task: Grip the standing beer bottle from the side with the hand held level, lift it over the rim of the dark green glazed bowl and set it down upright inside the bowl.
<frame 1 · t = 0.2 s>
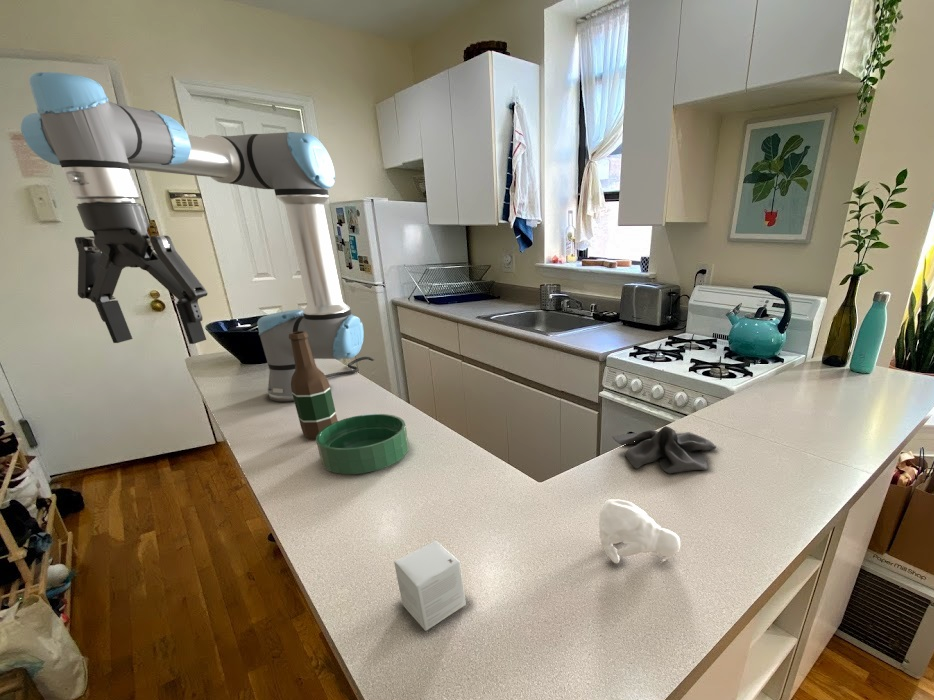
hand: (160, 341, 77), 28 cm above the worktop, tool pointing down, fingers open, 13 cm apart
cloth: (660, 451, 98), on the worktop
product box: (434, 606, 60), on the worktop
beer bottle: (321, 434, 109), on the worktop
white irregular figure: (637, 554, 69), on the worktop
green bowl: (367, 455, 98), on the worktop
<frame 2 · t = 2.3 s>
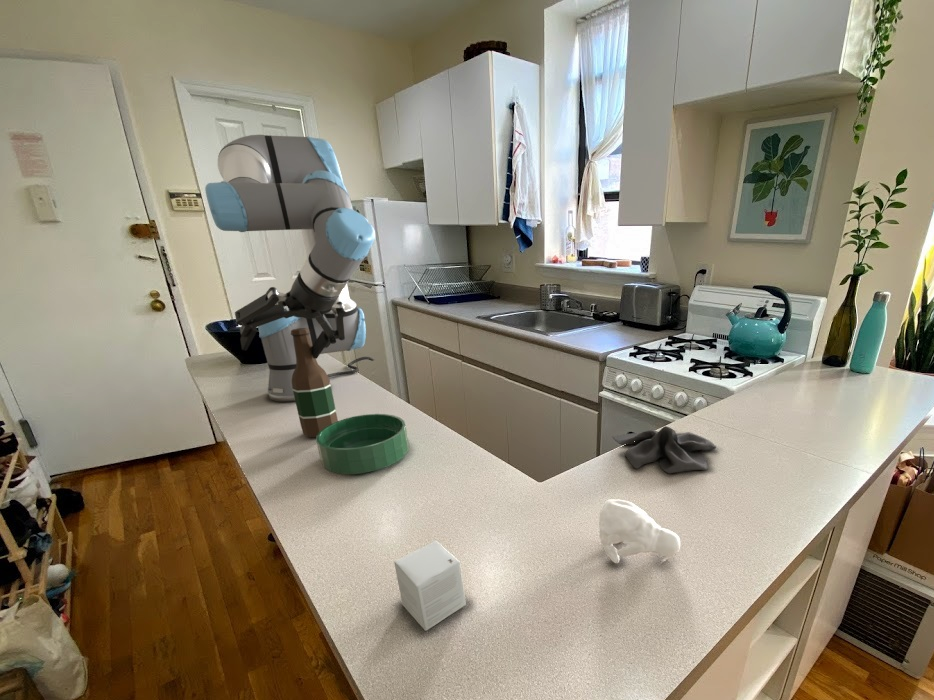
hand: (280, 349, 98), 21 cm above the worktop, tool tilted 50°, fingers open, 13 cm apart
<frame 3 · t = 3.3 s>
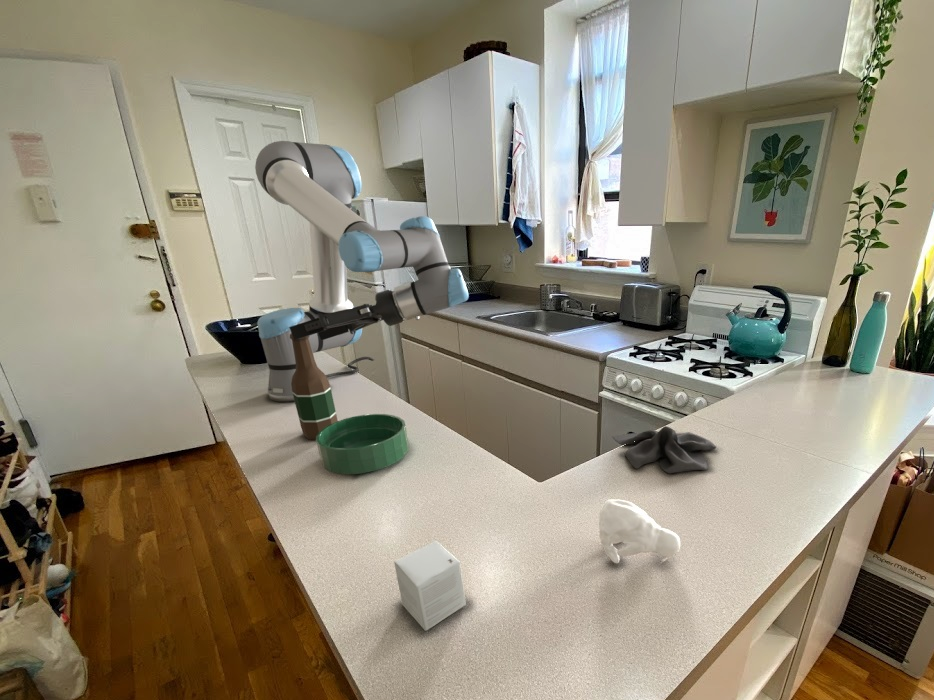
hand: (306, 334, 102), 23 cm above the worktop, tool horizontal, fingers open, 13 cm apart
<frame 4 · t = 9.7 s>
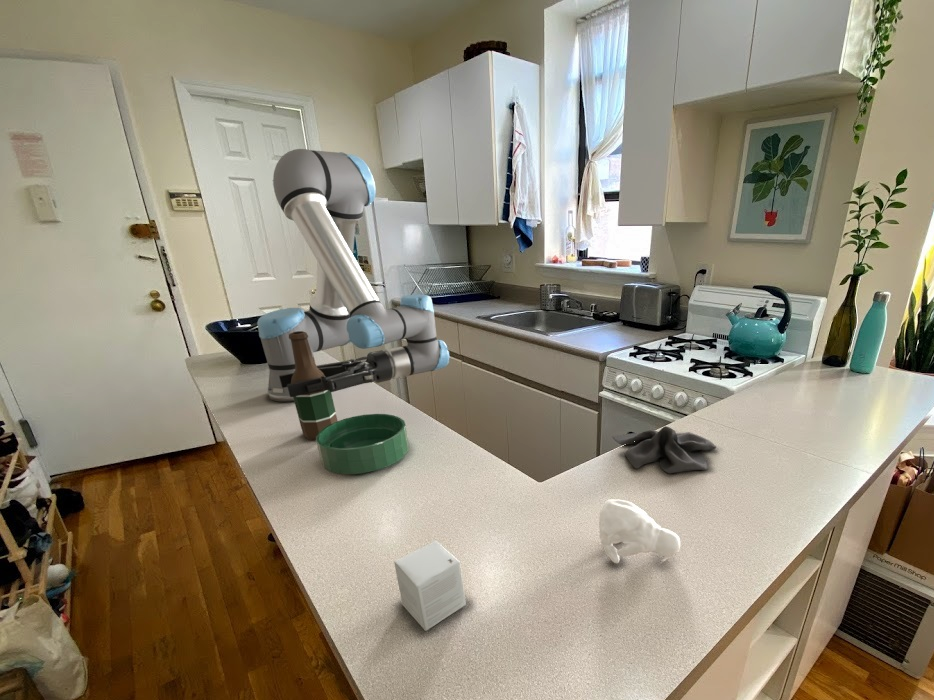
hand: (284, 386, 101), 13 cm above the worktop, tool horizontal, fingers closed on beer bottle, 7 cm apart
beer bottle: (321, 434, 109), on the worktop, touching gripper
everything else where it was.
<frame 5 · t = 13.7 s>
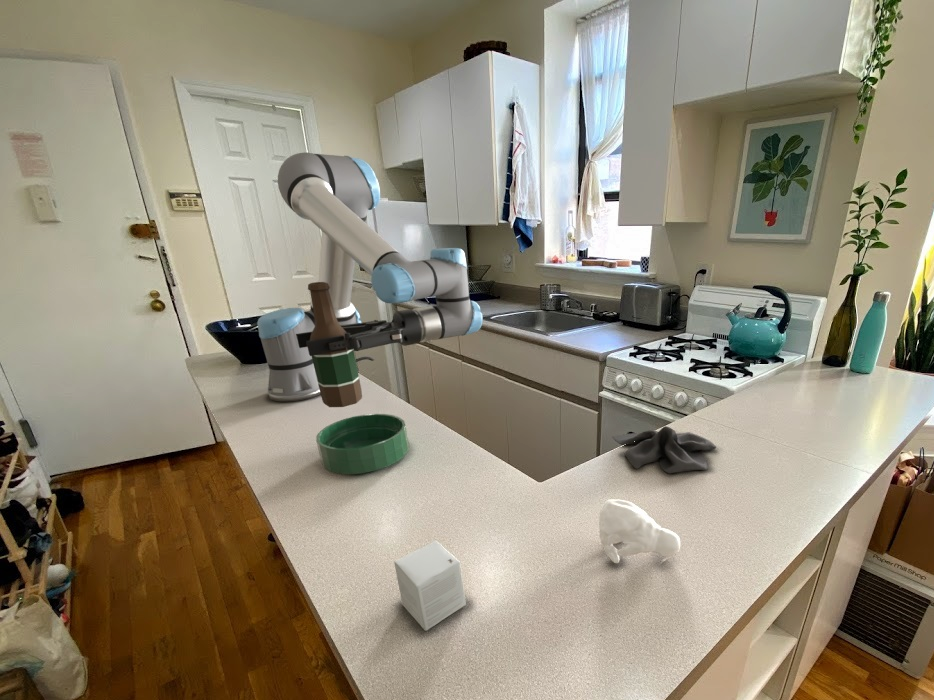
hand: (303, 344, 89), 24 cm above the worktop, tool horizontal, fingers closed on beer bottle, 7 cm apart
beer bottle: (343, 402, 97), point 11 cm above the worktop, touching gripper
everything else where it was.
when the fingers open (14 cm above the worktop, at t = 17.7 s): beer bottle stays where it is, resting on green bowl.
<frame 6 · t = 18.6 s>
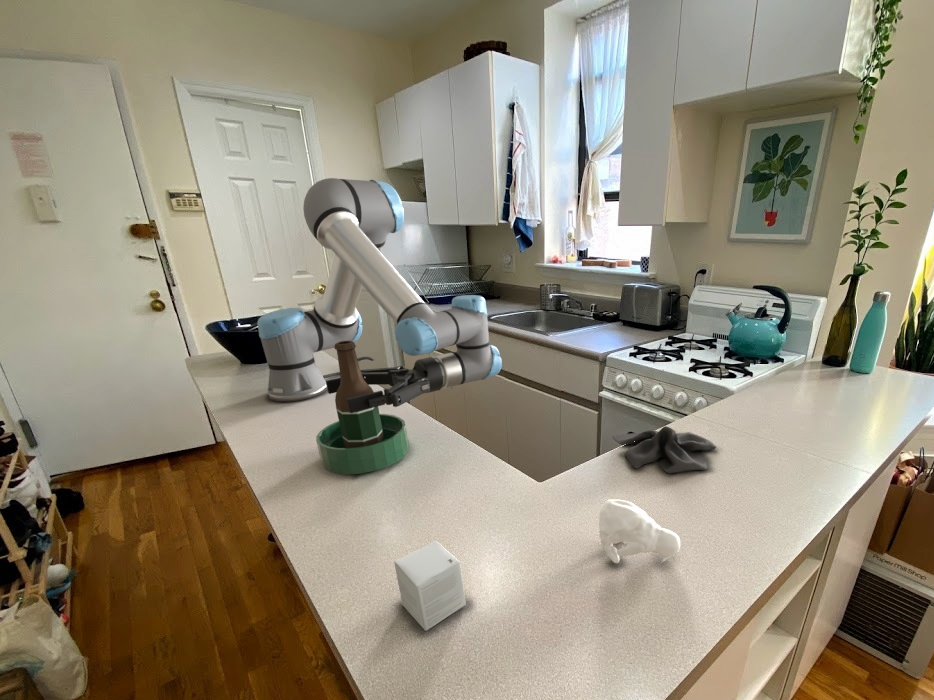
hand: (337, 396, 90), 14 cm above the worktop, tool horizontal, fingers open, 13 cm apart
beer bottle: (366, 454, 98), resting on green bowl
everything else where it was.
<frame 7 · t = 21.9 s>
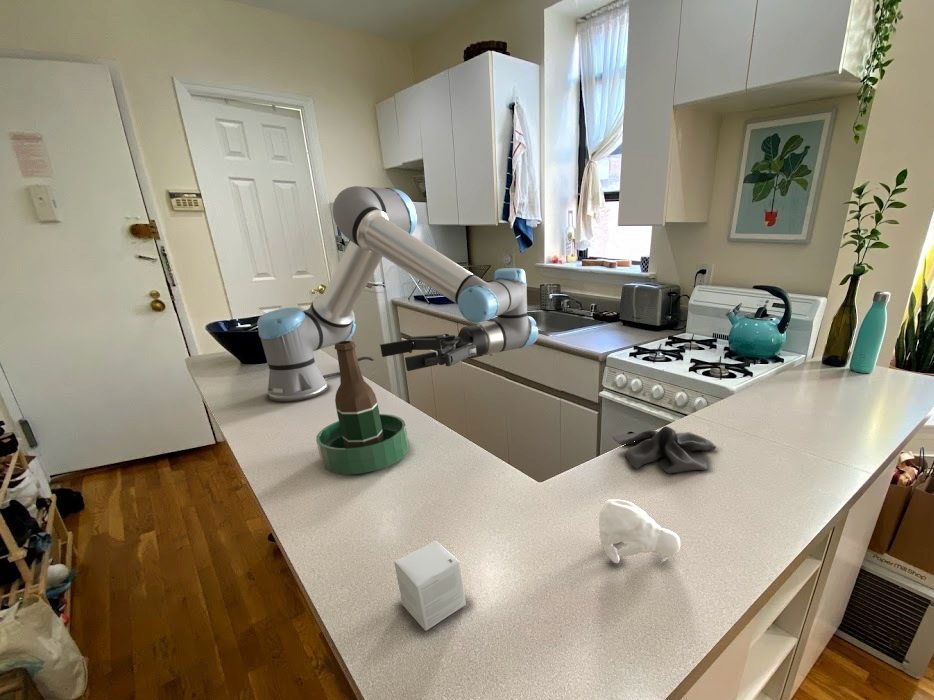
hand: (393, 357, 98), 19 cm above the worktop, tool horizontal, fingers open, 13 cm apart
nothing on the worktop moved.
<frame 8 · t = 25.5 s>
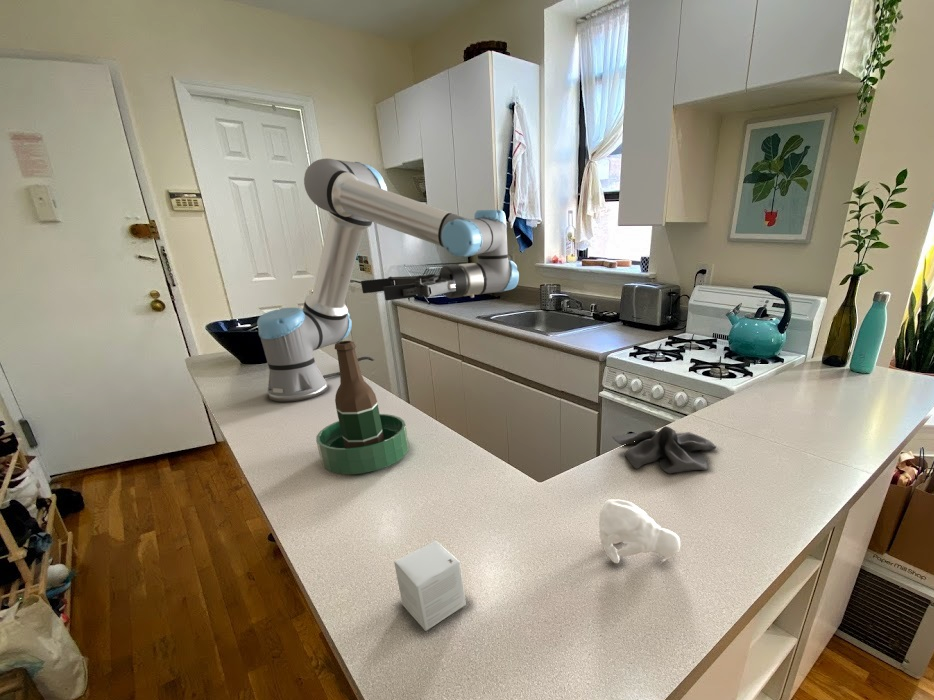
hand: (372, 290, 100), 32 cm above the worktop, tool horizontal, fingers open, 13 cm apart
nothing on the worktop moved.
at the end: beer bottle inside the target area in the green bowl (0.0 cm from its centre), point 0.4 cm above the green bowl's base; beer bottle tilted 0°; the gripper is holding nothing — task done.
